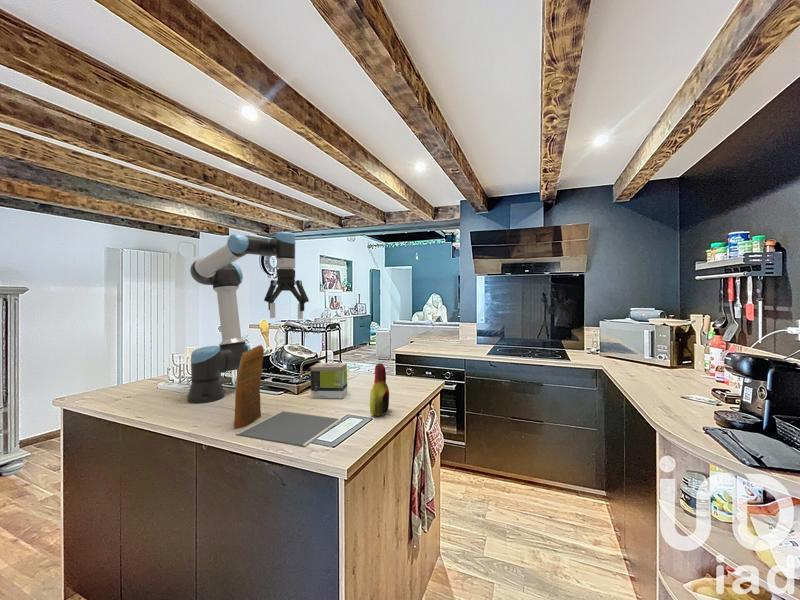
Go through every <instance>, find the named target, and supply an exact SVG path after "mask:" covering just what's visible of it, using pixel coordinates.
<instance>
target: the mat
mask: <svg viewBox="0 0 800 600" xmlns="http://www.w3.org/2000/svg"><path fill="white" fill-rule="evenodd" d="M341 421H343V418H338V417H337V418H336V417H335V418H334V417H327V416H323V415H313V414H305V413H300V412H292V411H284V410H280V411H278V412H276V413H274V414H272V415H271V416H268V417H266V418H264V419H262V420H261V421H258V422H256V423H254V424H252V425H250V426H249V427H246V428H245V429H242V430H241V431H238V432H237V433H235V436H240V437H245V438H251V439H258V440H263V441H270V442H275V443H280V444H286V445H292V446H296V447H297V446H298V447H303V448H304V447H307V446H309V445H310V444H311V443H312V442H314V441H315V440H317V439H318V438H319V437H321V436H322V435H324V434H325V433H326V432H328V431H329V430H331V429H332V428H334V427H335V426H336V425H338V424H339V423H340V422H341Z"/></svg>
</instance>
